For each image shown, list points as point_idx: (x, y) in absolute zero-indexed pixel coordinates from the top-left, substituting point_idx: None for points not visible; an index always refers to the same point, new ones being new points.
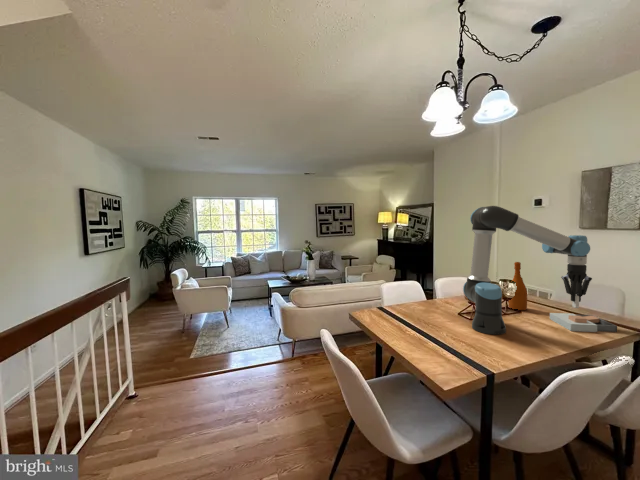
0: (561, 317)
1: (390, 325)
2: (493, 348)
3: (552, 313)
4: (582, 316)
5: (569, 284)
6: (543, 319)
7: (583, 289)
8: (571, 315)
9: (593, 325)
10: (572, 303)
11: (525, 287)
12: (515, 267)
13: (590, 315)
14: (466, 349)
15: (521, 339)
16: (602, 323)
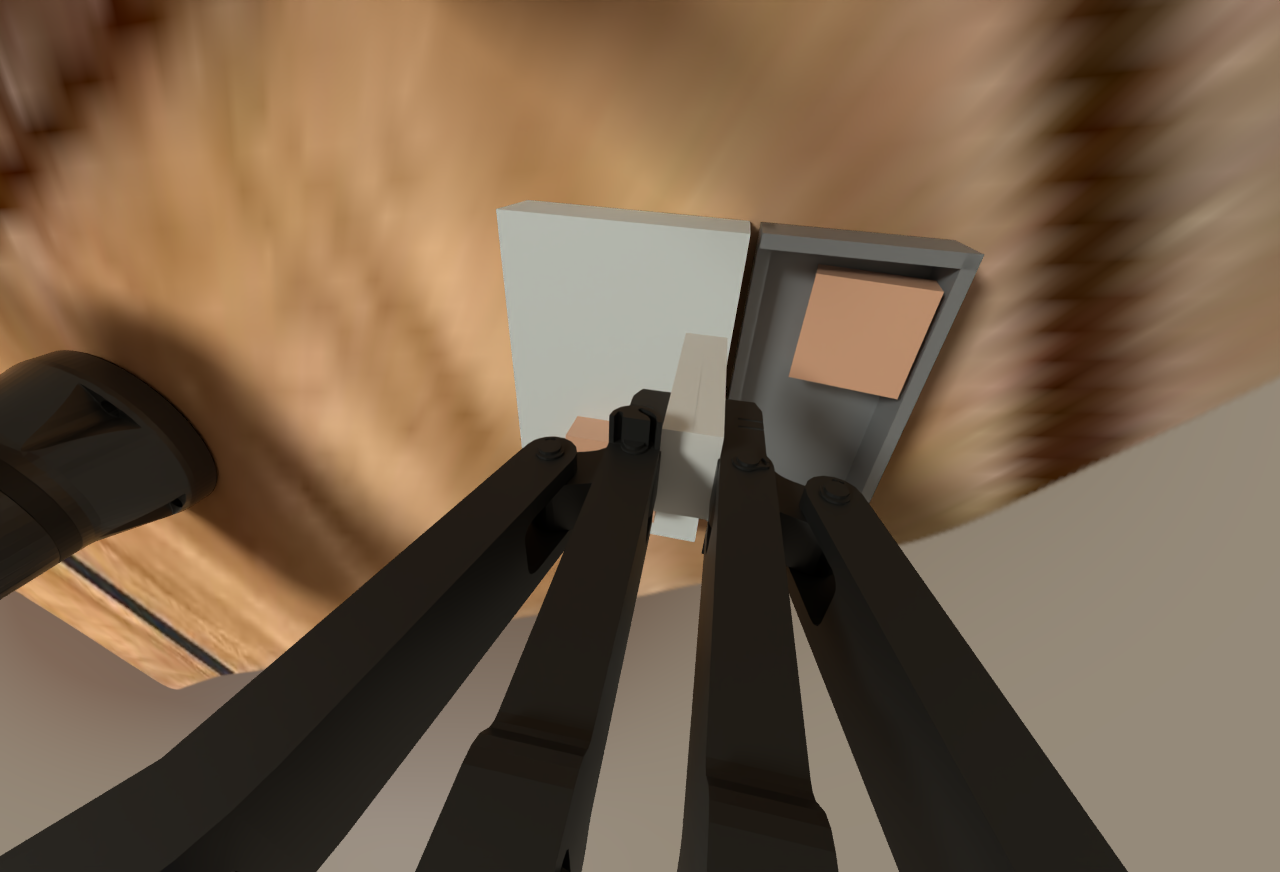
0: (541, 373)
1: None
2: (207, 590)
3: (516, 235)
4: (846, 255)
5: (423, 724)
6: (466, 218)
7: (823, 639)
8: (587, 442)
9: (670, 534)
10: (681, 355)
11: None
12: None
13: (946, 266)
14: (138, 585)
15: (287, 544)
16: (881, 411)
